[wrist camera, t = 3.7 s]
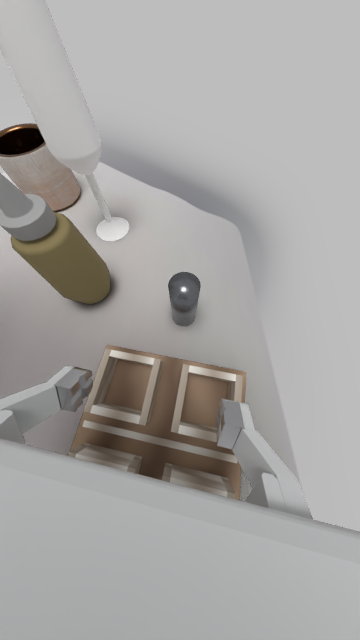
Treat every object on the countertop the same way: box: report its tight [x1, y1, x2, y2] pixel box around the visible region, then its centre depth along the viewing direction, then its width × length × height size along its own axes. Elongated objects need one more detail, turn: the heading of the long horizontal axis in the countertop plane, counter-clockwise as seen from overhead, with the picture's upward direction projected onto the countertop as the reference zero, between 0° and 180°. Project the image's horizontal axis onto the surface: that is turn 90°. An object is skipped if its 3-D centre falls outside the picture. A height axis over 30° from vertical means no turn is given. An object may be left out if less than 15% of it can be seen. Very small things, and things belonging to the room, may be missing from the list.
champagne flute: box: [0, 0, 129, 241], centre depth 23 cm, size 7×7×24 cm
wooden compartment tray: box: [68, 345, 246, 500], centre depth 17 cm, size 20×20×10 cm
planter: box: [0, 124, 80, 211], centre depth 34 cm, size 11×11×10 cm
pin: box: [168, 272, 200, 326], centre depth 23 cm, size 4×4×9 cm
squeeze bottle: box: [0, 173, 110, 304], centre depth 21 cm, size 8×8×18 cm
